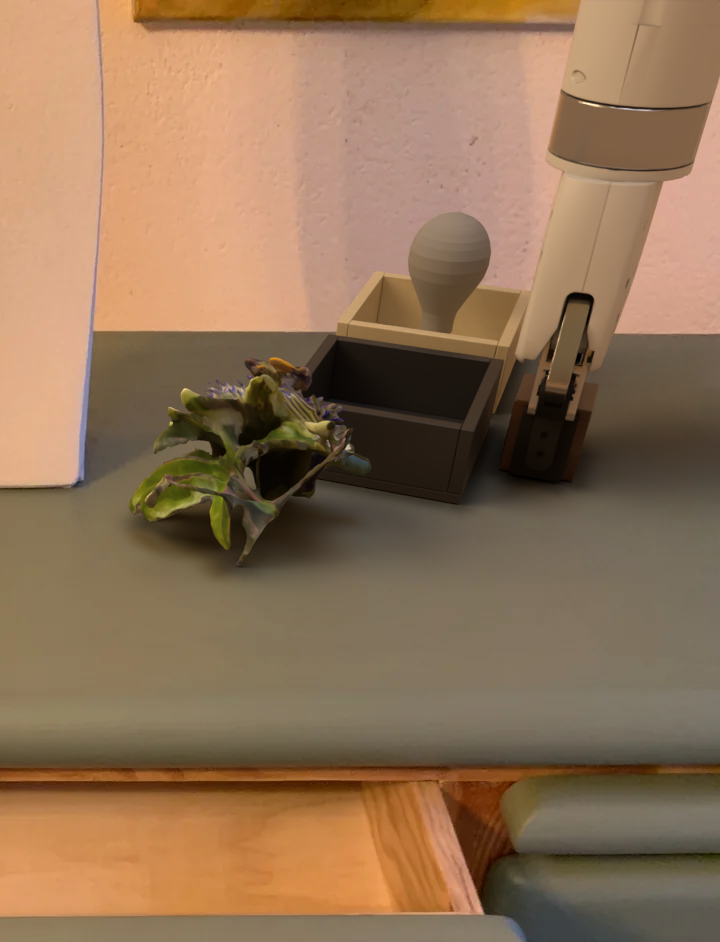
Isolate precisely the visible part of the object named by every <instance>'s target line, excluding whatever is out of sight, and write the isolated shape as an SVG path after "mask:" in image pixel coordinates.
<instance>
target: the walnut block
mask: <svg viewBox="0 0 720 942" xmlns="http://www.w3.org/2000/svg"><path fill="white" fill-rule="evenodd" d="M535 377H536V374H534V373H533V374H532V373H527V372H525V373H524V375H523V377H522V380H521V383H520V384H519V388H518V391H517V393H516V396H515V399H514V402H513V406H512V410H511V415H510V418H509V424H508V427H507V431H506V436H505V440H504V444H503V449H502V452H501V457H500V461H499V465H498V469H499V470H502V471H507V472H508V471H509V472H510V470H509V467H510V463H511V459H512V455H513V450H514V446H515V442H516V438H517V434H518V430H519V426H520V422H521V418H522V414H523V410H524V408H528V405H529V401H530V397H531V393H532V389H533V385H534V381H535ZM547 378H548V376H547V375H546V376H545V380H547ZM575 380H576V379H575ZM575 380H570V384H573V387H574V384H575ZM599 386H600V384H599V383H595V382H587V381H584V385H583V389H582V392H581V396H580V399H579V403H578V407H577V410H576V414H575V416H579V420H578V423H577V427H576V430H575V434H574V437H573V441H572V445H571V448H570V452H569V455H568V459H567V463H566V466H565V470H564V473H563V477H562V478H561V480H560V481H567V482H573V481H574V478H575V474H576V472H577V467H578V464H579V460H580V456H581V453H582V450H583V446H584V443H585V439H586V436H587V432H588V429H589V425H590V422H591V418H592V415H593V410H594V407H595V403H596V400H597V395H598V391H599ZM568 406H569V403H568ZM567 408H568V407H567Z"/></svg>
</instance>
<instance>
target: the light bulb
mask: <svg viewBox="0 0 720 942" xmlns="http://www.w3.org/2000/svg"><path fill="white" fill-rule="evenodd" d="M491 246H492V245H491V240H490V237H489V233H488V231H487V230H486V227H485V225H483V223H482V222H481V221H479V219H477V218H476V217H474V216H472V215H469V214H467V213H464V212H461V211H450V212H445V213H440V214H438V215H436V216H434V217H432V218H430V219H429V220H427V221H426V222H425V223H424V224H423V225H422V226H421V227H420V228H419V230H418V231H417V232H416V234H415V235H414V238H413V240H412V242H411V244H410V247H409V253H408V256H407V258H408V259H407V264H408V265H407V266H408V275H409V276H410V277H411V281H412V283H413V286H414V289H415V291H416V294H417V297H418V300H419V303H420V306H421V309H422V318H421V323H420V330H425V331H432V332H439V333H446V334H450V333H451V332H452V328H453V323H454V319H455V316H456V314H457V312H458V310H459V309H460V308H461V306H462V305H463V304H464V302H465V301H466V300H467V299H468V297H469V296H470V295H471V294H472V293H473V291H474V290H475V289H476V288H477V286H478V285H481V284H480V283H481V282H482V281H483V280H484V278H485V276H486V274H487V271H488V269H489V267H490V261H491V257H492V247H491Z"/></svg>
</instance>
